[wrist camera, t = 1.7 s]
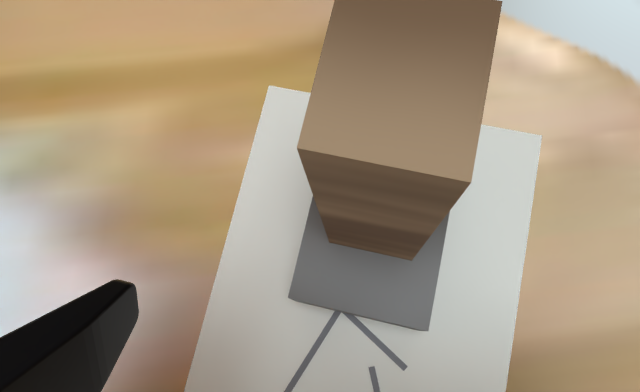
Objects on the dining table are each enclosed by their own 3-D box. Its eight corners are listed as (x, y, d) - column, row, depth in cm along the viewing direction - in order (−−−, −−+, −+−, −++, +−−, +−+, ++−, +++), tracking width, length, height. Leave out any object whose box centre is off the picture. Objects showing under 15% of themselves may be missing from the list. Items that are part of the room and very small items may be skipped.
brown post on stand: (419, 331, 20) (513, 333, 8) (296, 301, 21) (206, 261, 8) (454, 141, 22) (573, -93, 10) (339, 120, 22) (317, -126, 10)
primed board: (445, 724, 18) (453, 760, 17) (132, 619, 20) (113, 643, 18) (530, 147, 23) (542, 135, 21) (274, 99, 24) (268, 84, 23)
